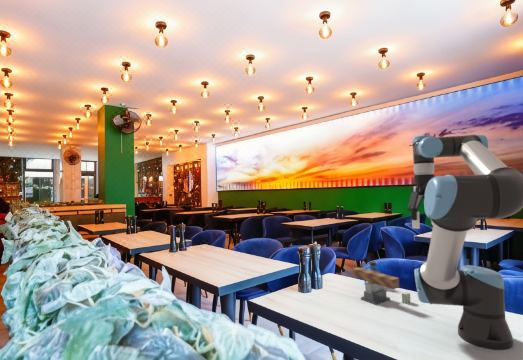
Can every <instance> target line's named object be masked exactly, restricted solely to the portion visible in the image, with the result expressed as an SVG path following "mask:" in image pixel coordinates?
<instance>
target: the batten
mask: <svg viewBox="0 0 523 360" xmlns="http://www.w3.org/2000/svg"><path fill="white" fill-rule="evenodd" d="M366 269H367V268H363V267H359V266H357V267H355V268H352V278H355V279H357V280H361V281H363V282H365V281H367V282H371V283H374V284H377V285H381V286H384V288H388V289H392V290H395V289H399V288H400V278H399V277H397V276H393V275H388V274H385V273H382V272H381V273H378V272H374V271H370V270H366Z"/></svg>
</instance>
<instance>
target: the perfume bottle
mask: <svg viewBox="0 0 523 360" xmlns="http://www.w3.org/2000/svg"><path fill="white" fill-rule="evenodd" d="M365 269H366V270H370V271H374V272H378V273H382V272H381V271H380V269H378V268H377V262H376V261H369V264H368V268H365ZM365 282H367V281H364V283H365Z"/></svg>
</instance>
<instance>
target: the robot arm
mask: <svg viewBox="0 0 523 360" xmlns="http://www.w3.org/2000/svg"><path fill="white" fill-rule="evenodd" d="M412 157H413V161H412V162H413V174H415V175H413V184H415V185H416V186H412V187H411V194H410V197H409V201H408V205H407V211H408V212H410V213H411V225H412V226H411V228H412V229H416V230H417V229H418V230H420V228H421V223H420V211H419V209H420V207H421V204H422V202H423V205H424V206H423V208H424V209H423V210H424V213H425V216H426V217H427V218H428V219H430V222H431V225H432V231H431V236H430V241H429V242H430V243H429V248H428V253H427V259H426V261H424V262H423V263H422V265H421V266H420V267H418V268H415V269H414V270H413V273H414V281H415V286H416V287H415V288H416V292H417V293H416V294H417V298H418V300H419V301H420V302H421V303H424V304H429V305H443V306H458V307H462V314H461V316H460V319H459V321H458V325H457V333H458V334H457V335H458V336H459V337H460V338H461V339H463V340H464V341H466V342H467V343H469V344H472V345H474V346H478V347H482V348H486V349H491V350H506V349H510V348H512V347H513V346H514V336H513V334H512V332H511V329H510V327H509V324H508V322H507V320H506V304H505V303H506V302H505V299H506V298H505V296H506V295H505V289H506V287H505V283H504V277H503V275H502V274H501V273H499V272H498V271H495V270H493V269H490V268H487V267H483V266H478V265H471V264H467V265H465V264H464V265H462V266H461V267H460V270H458V266H459V262H460V260H461V256H462V251H463V248H464V245H465V241H466V240H465V239H466V237H467V233H468V232H469V231H470V230H472V229H473V228H475V227H476V224H477V222H478V220H480V219H481V220H486V219H487V220H488V219H489V220H491V219H495V220H500V219H504V218H508V217H511V216H513V215H516V214H517V213H518V212H520V211H521V210H522V209H523V174H522V173H521V172H520V171H519V170H518V169H516V168H514V167H511V166H507V165H506V164H505V163H504V162H503V161H502V160H501V159H500V158H499V157H497V155H495V154H494V153H493V152H492V151H491V150H490V149H489V141H488V139H487V136H486V135H484V134H467V135H465V134H464V135H453V136H433V135H431V134H430V135H429V134H428V135H427V134H423V135H416V136H413V137H412ZM449 157H450V158H453V157H454V158H455V157H456V158H457V157H460V158H462V160H463V162H465V164H466V165H467V166H468V167H469V168H470V170H471V171H472V172H473V174H467V175H466V174H465V175H462V174H461V175H452V174H446V175H436V176H435V159H436V158H449ZM434 158H435V159H434Z"/></svg>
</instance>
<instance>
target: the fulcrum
mask: <svg viewBox="0 0 523 360" xmlns="http://www.w3.org/2000/svg"><path fill="white" fill-rule="evenodd" d="M365 286H366V290H363V296H361V297H360V300H362V301H364V302H366V303H369V304H372V305H374V306H376V305H379V304H382V303H385V302H388V301H391V297H389V296H387V289H385V287H384V286H381V285H377V284H374V283H371V282H367V283H365V282H364V287H365Z"/></svg>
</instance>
